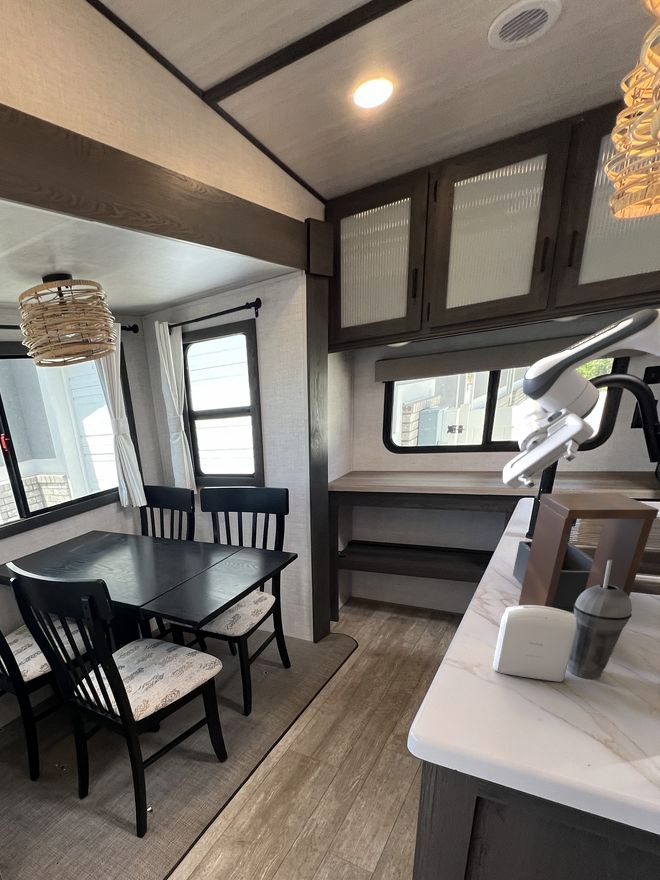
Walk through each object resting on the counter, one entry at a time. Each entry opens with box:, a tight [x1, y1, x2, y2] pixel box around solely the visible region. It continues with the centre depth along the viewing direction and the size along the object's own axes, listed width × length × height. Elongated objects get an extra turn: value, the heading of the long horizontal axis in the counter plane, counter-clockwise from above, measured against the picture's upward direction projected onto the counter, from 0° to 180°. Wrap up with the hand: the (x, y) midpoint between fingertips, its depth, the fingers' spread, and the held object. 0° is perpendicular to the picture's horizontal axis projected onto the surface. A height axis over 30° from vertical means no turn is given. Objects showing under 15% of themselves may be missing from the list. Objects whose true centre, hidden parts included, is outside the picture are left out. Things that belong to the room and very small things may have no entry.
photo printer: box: [492, 605, 577, 683], centre depth 77 cm, size 10×4×12 cm, turn 63°
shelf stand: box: [517, 492, 660, 607], centre depth 85 cm, size 12×13×26 cm
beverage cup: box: [566, 560, 633, 680], centre depth 75 cm, size 7×7×20 cm
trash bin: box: [512, 540, 594, 612], centre depth 106 cm, size 11×22×9 cm, turn 164°
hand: (550, 472), depth 110 cm, fingers open, 8 cm apart
